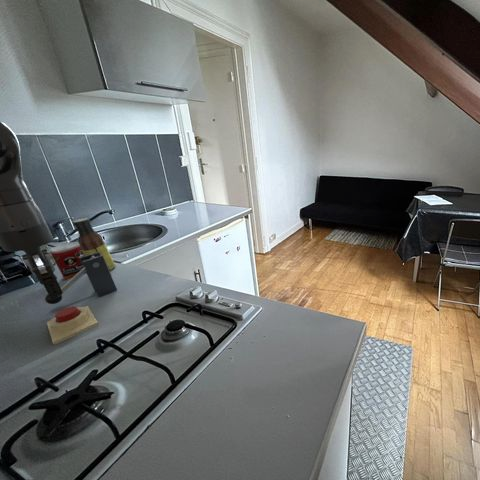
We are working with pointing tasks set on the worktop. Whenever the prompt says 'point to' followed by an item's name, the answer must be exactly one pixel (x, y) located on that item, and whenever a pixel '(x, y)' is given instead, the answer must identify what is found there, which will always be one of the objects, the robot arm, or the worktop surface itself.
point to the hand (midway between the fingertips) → (56, 295)
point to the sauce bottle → (92, 241)
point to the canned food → (68, 258)
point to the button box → (71, 325)
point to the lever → (66, 286)
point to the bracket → (98, 274)
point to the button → (67, 314)
